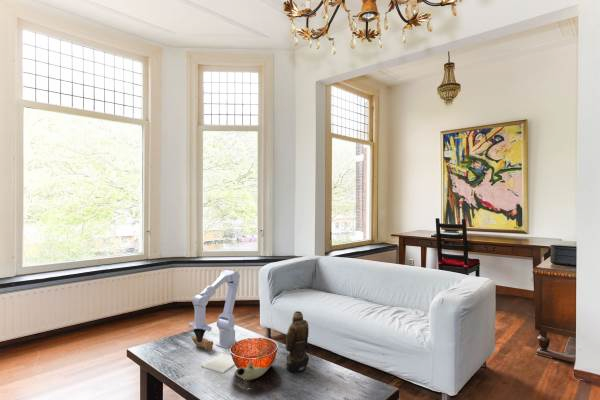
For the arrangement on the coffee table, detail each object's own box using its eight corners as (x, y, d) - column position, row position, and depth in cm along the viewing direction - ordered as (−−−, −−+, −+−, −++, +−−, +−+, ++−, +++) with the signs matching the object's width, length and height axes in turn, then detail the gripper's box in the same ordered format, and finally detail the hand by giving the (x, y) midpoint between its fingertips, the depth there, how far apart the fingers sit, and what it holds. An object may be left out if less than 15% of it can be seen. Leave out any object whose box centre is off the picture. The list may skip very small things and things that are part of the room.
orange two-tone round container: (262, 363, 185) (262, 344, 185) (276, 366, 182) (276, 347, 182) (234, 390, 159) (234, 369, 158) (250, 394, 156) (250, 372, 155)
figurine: (213, 351, 197) (196, 353, 205) (216, 336, 202) (200, 339, 210) (201, 347, 192) (185, 349, 200) (205, 332, 197) (189, 335, 205)
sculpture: (299, 362, 188) (297, 306, 189) (313, 370, 178) (311, 311, 179) (279, 368, 180) (278, 310, 182) (293, 377, 170) (291, 315, 172)
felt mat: (221, 354, 194) (221, 353, 194) (241, 359, 188) (241, 358, 188) (201, 366, 180) (201, 365, 180) (222, 373, 173) (222, 372, 173)
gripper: (184, 317, 188) (184, 341, 189) (205, 321, 182) (205, 347, 182) (193, 313, 195) (193, 337, 195) (214, 317, 188) (213, 342, 189)
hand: (199, 341), depth 189 cm, fingers closed
